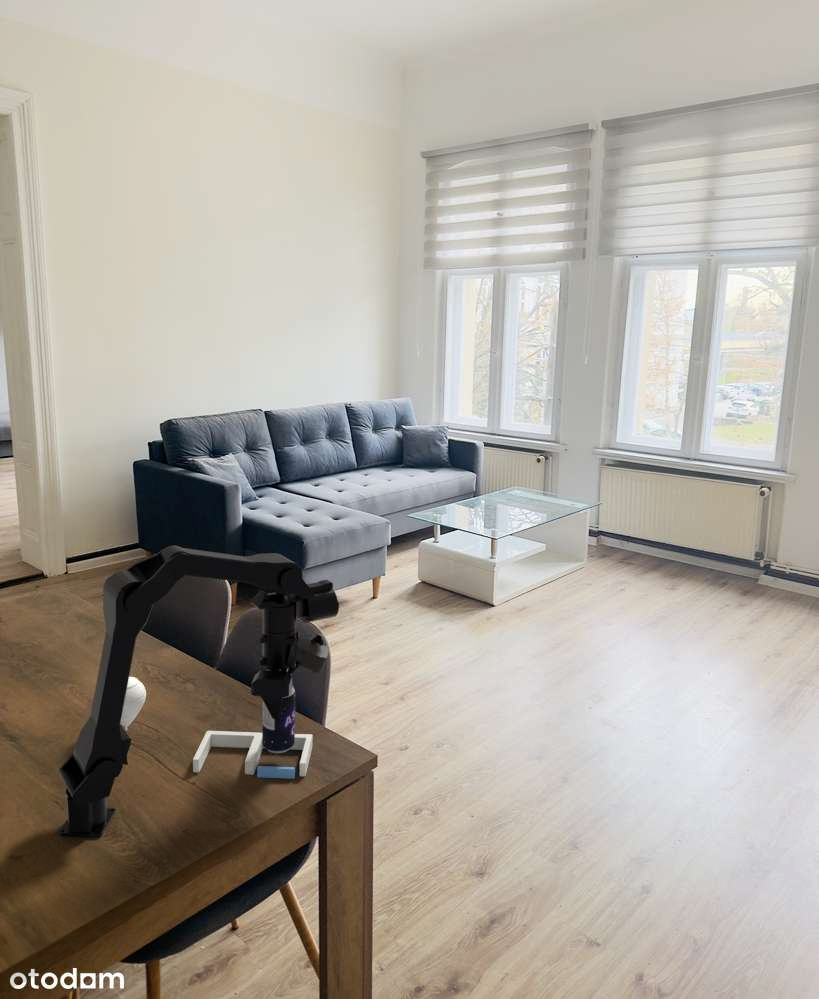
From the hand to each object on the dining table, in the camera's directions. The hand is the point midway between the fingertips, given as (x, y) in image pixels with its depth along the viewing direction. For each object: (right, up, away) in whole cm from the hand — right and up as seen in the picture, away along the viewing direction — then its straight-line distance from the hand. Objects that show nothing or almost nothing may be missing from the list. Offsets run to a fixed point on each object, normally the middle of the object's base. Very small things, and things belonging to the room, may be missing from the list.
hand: (278, 710), depth 140 cm
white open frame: (-5, -10, +2) cm, 11 cm away
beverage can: (0, -7, +2) cm, 7 cm away
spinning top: (-31, -7, +11) cm, 33 cm away
